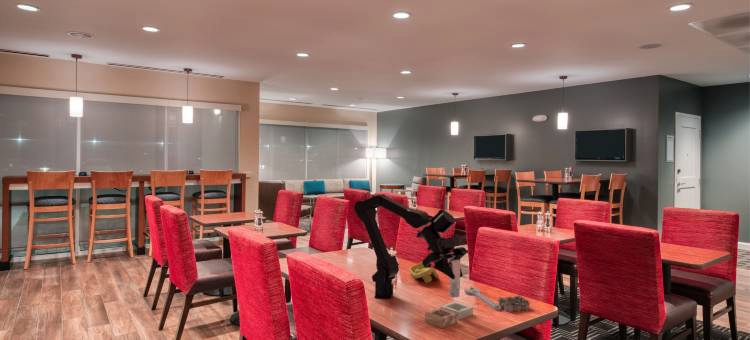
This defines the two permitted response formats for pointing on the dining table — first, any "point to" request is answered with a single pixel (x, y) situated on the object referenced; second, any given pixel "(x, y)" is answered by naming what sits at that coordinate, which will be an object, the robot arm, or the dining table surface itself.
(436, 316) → the beige square ring
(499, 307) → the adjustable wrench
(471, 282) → the dining table surface
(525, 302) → the grey jagged open ring
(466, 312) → the square hollow frame
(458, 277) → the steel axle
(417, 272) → the plastic component
